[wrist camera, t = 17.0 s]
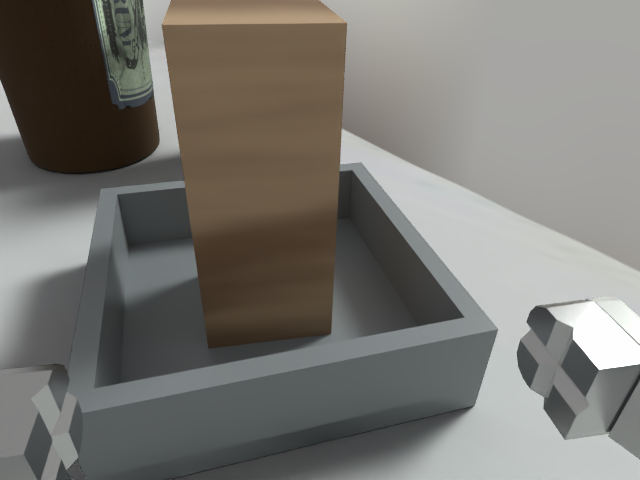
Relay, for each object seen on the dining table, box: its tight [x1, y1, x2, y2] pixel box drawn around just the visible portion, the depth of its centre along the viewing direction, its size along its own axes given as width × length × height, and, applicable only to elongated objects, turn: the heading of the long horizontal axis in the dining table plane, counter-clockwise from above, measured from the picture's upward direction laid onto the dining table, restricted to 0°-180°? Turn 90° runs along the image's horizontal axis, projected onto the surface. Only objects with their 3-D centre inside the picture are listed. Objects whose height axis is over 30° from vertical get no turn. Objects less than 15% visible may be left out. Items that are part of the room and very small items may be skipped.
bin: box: [67, 163, 498, 480], centre depth 21 cm, size 14×14×4 cm
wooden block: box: [162, 0, 347, 349], centre depth 19 cm, size 5×5×12 cm
